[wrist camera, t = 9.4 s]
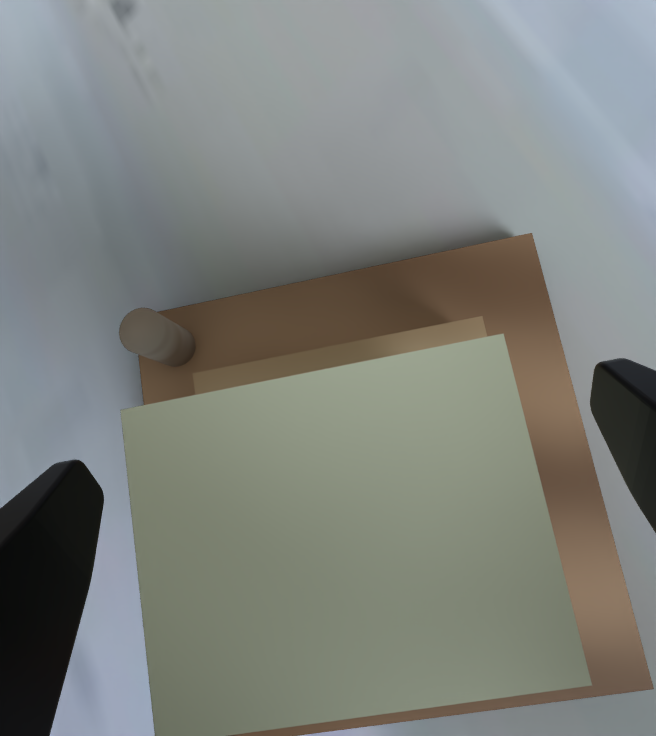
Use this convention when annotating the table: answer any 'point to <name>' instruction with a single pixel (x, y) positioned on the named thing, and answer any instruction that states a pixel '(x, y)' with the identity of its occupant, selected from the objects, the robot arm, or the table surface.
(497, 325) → the dock
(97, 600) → the table surface
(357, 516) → the sage key block
